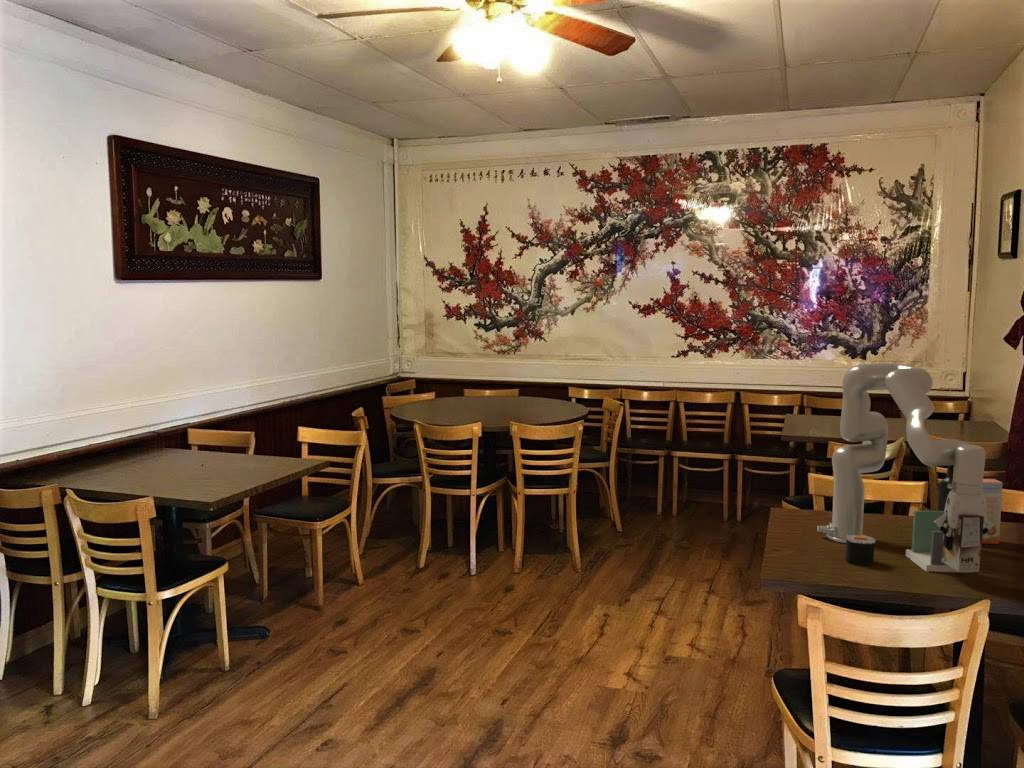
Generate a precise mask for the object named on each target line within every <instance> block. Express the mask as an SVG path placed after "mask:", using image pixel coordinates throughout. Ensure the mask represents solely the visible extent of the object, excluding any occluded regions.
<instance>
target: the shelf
mask: <svg viewBox="0 0 1024 768" xmlns="http://www.w3.org/2000/svg"><path fill="white" fill-rule="evenodd" d="M943 514H944V511H937V510H919V509H918V510H915V509H914V510H913V523H912V540H911V549H909V548H907V549H905V557H907V558H908V559H909V558H910V559H909V560H911V561H912V562H913V563H914V564H915V565H917V566H919V567H920V568H921V569H922V570H923V571H925V572H927V573H928V572H930V571H931V572H933V571H934V573H935V572H936V573H959V572H958V571H957V570H955V569H953V568H951V567H950V566H948V565H946V564H945V563H943V562H941V561H942V548H943V535H944V534H943V532H942V531H941V530H940V529H939V528H938V527H937V525H936V524H935V523H934V521H935V520H936V519H937V518H939V517H940V516H942V515H943ZM942 525H943V526H944V522H943V523H942ZM931 572H930V573H931ZM967 573H969V572H967ZM970 573H972V572H970ZM970 573H969V574H970Z"/></svg>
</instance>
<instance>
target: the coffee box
mask: <svg viewBox="0 0 1024 768" xmlns="http://www.w3.org/2000/svg"><path fill="white" fill-rule="evenodd" d="M983 522H984V517H983V516H975V515H959V522H958V529H954V531H953V533H952V535H951V537H953V541H952V550H948V549H946V548H945V547H944V545H943V548H942V561H941V562H943V563H945V564H946V565H948V566H950V567H951V568H953V569H955V570H957V571H958V572H957V573H968V572H971V573H978V572H980V564H981V557H982V556H981V555H982V554H981V553H982V545H983V544H982V533H983ZM946 525H947V524H945V523H944V527H946ZM943 542H944V535H943Z"/></svg>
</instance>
